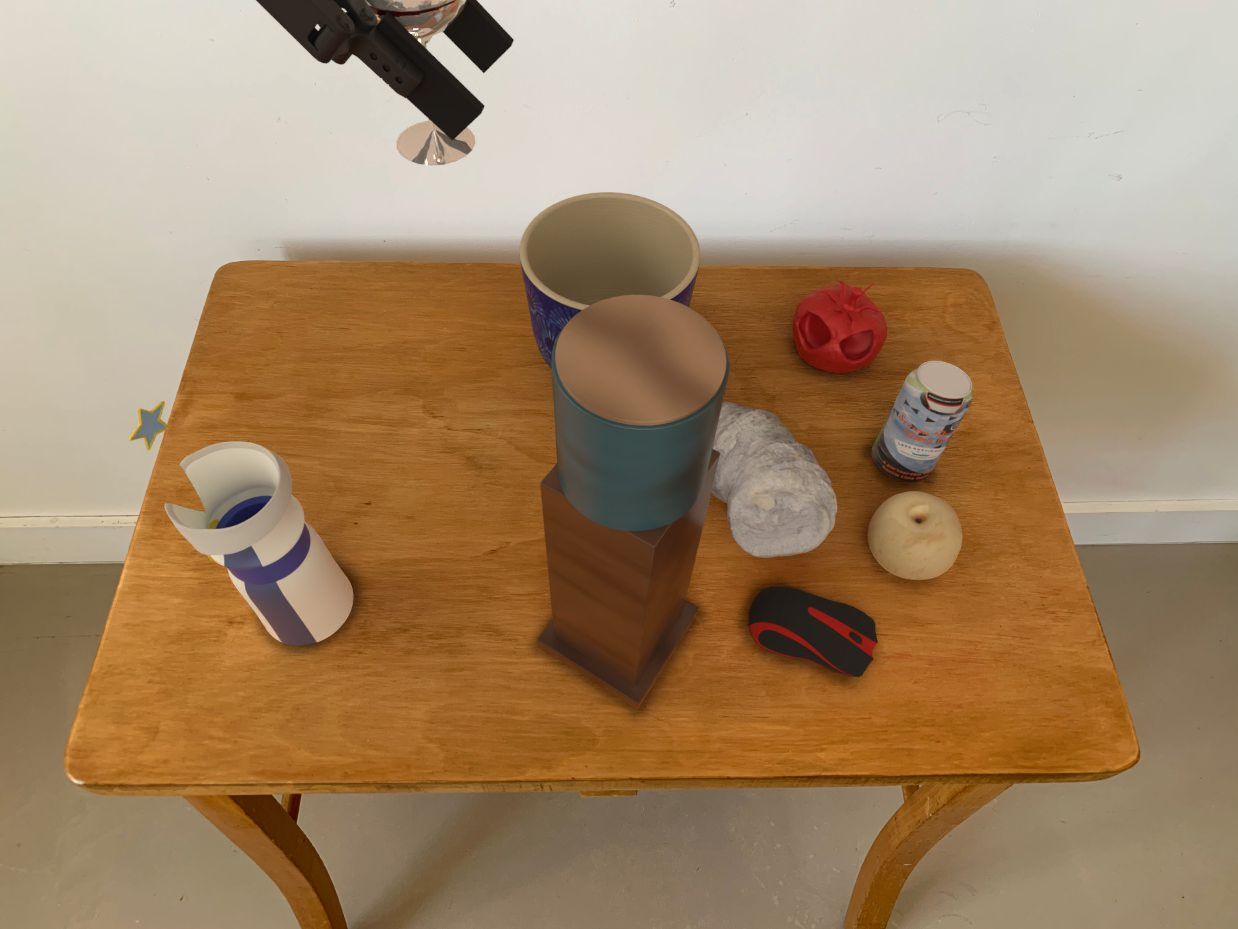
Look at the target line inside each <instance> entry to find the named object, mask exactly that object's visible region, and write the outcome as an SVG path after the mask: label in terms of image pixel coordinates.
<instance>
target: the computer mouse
mask: <svg viewBox="0 0 1238 929" xmlns="http://www.w3.org/2000/svg"><path fill="white" fill-rule="evenodd" d="M747 618H748V619H747V620H748V621H747V622H748V629H749V632H750V634H751V636H752V638H753V640H754V641H755V642H756V643H757V644H758V645H759V646H760V647H761V648H763V649H765V650H766V651H768V652H770V653H773V654H775V655H778V656H781V657H785V658H790V659H793V660H800V661H808V662H810V663H814V664H816V665H818V666H820V667H822V668H824V669H825V670H828V671H831V672H834V673H837V674H840V675H843V676H846V677H850V678H860V677H862V676H863V675H864V674H865V671H866V670H867V668H868V667H869V666H870V665H871V663H872V662H873V661H874V649H875V647H876V645H877V644H878V642H879V641H878V636H877V630H876V622H875V620H874V618H872V617H871V616H870V615H868V614H867V613H866V612H864V611H863V610H861V609H859V608H857V607H856V606H853V605H850V604H848V603H845V602H840V601H838V600H837V601H836V600H832V599H830V598H826V597H823V596H820V595H818V594H814V593H811V592H808V591H805V590H803V589H800V588H796V587H793V586H783V585H782V586H781V585H775V586H768V587H765V588H763V589H761V591H759V593H757V595H756V596H755V597H754V599H752V602H751V604H750V607H749V611H748V616H747Z"/></svg>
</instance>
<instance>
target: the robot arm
mask: <svg viewBox="0 0 1238 929" xmlns="http://www.w3.org/2000/svg"><path fill="white" fill-rule="evenodd" d="M255 1H256V3H258V4H259V5H260V6H261V7H262V8H263V9H264V10H265V11H266V12H267V13H268V14H269V16H271V17H272V18H273V19H274V20H275V21H276V22H277V23H278V24H279V25H280V26H281V27H282V28H283V29H284V30H285V31H286V32H287V33H288V34H289V35H290V36H291V37H293V39H294V40H295V41H296V42H297V43H298V44H299V45H300V46H301V47H302V48H303V49H305V51H306V52H307V53H309V54H310V56H312V58H314V60H316V61H317V62H319V63H321V64H325V65H326V64H329V63H330V62H331V61H332V62H334V63H335V64H337V65H342V66H343V65H345V64H346V63H347V62H348V61H349V59H350V58H351V57H352V56H355V58H357V59H359V60H360V61H361V62H362V63H363V64H364V65H365V66H366V67H368V68H369V69H370V70H371V71H372V72H373V73H374V74H375V75H376V76H377V77H378V78H380V79H382V81H383V82H384V83H385V84H386V85H388V87H389V88H390V89H391V90H393V91H394V92H395V93H396V94H397V95H398V96H401V97H402V98H404V99H406V100H408V101H409V102H410V104H412V105H413V106H414V107H415V108H416V109H417V110H418V111H420V112H421V113H422V114H423V115H424V116H425V117H426V118H427V119H428V120H429V119H430V120H431V121H432V122H433V123H434V124H435V125H436V126H437V127H438V128H439V129H440V130H441V131H443V132H444V133H445V134H446V135H447V136H448V137H449V138H450V139H451V140H452V141H453V140H454V139H455V138H456V137H457V136H458V135H459V134H460V133H461V132H462V131H463V130H464V129H465V128H468V127H469V126H470V125H471V124H472V123H473V122H474V121H475V120H476V119H477V118H478V117H479V116H480V115H482V113H483V112H484V109H485V107H486V105H484V103H482V101H480V99H478V97H477V96H476V95H474V94H473V92H471V91H470V90H469V89H468V87H466V86H465V85H464V84H463V83H462V82H461V81H460V80H459V79H458V78H457V77H456V76H455V75H454V74H453V73H452V72H451V71H450V70H449V69H448V68H447V67H446V66H445V65H444V64H442V63H441V61H440V60H439V59H438V58H436V57H435V56H434V54H432V52H430V51H429V49H428V48H427V49H426V48H425V47H424V46H423V45H422V44H421V43H420V42H419V41H418V40H417V39H416V38H415V37H414V36H413V35H412V34H411V33H410V32H409V31H408V30H407V29H406V28H405V27H404V26H403V25H402V24H401V23H399V22H398V21H397V20H396V19H395V18H394V17H393V16H392V15H391V14H390V13H389V12H387V13H386V14H385V15H384V17H383V18H382V19H381V20H380V21H379V23H378V24H377V22H378V20H377V17H376V15H375V13H374V12H373V10H372V9H371V8H370V6H369V5H368V4H367V2H366V1H365V0H255ZM317 25H318V27H319V28H318V29H317V28H316V27H317ZM442 33H443V34H444V35H445V37H447V38H448V39H449V40H450V41H451V42H452V43H453V44H454V45H455V46H456V47H457V48H458V49H459V50H460V51H461V53H463V54H464V55H465V56H466V57H467V59H469V60H470V61H471V62H472V63H473V64H474V65H475V66H476V67H477V68H478V69H479V70H480V72H482V73H483V74H485V73H486V72H487V71H488V70H489V69H490V68H491V67H492V66H493V65H494V64H495V63H496V62H497V61H498V60H500V58H501V57H502V56H503V55H504V54H505V53H506V52H507V51H508V50H509V49H510V48H511V47H512V46H513V44H514V41H515V39H514V38H513V37H512V36H511V35H510V34H509V33H508V32H507V31H506V29H505V28H504V27H503V26H502V25H501V24H500V23H499V22H498V21H497V20H496V19H495V18H494V16H492V14H490V12H488V11H487V9H486V8H485V7H484V6H483V5H482V4H481V3H480V2H479V1H478V0H468V1H467V3H466V5H465V7H464V9H463V11H462V12H461V13H460V14H459V15H458V17H457V18H456V19H455V20H454V22H453V23H452V24H451V25H450V26H449V27H448V28H447V29H446V30H444V31H443V32H442Z"/></svg>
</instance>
